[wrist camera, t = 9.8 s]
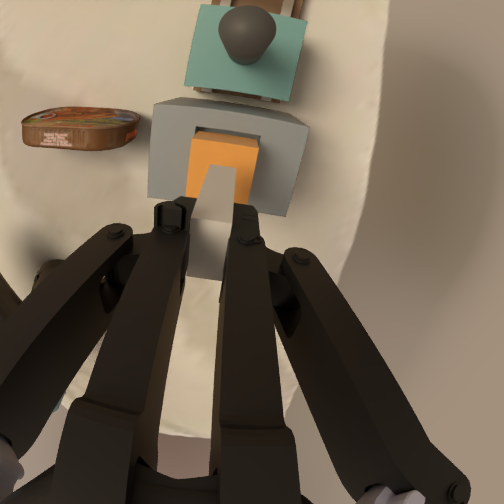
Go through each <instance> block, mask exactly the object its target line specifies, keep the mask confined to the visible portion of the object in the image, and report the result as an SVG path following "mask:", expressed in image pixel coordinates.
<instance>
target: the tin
mask: <svg viewBox="0 0 504 504" xmlns="http://www.w3.org/2000/svg"><path fill="white" fill-rule="evenodd" d="M139 119H140V116H139V115H138V114H137V113H135V112H132V111H128V110H122V109H111V108H94V107H60V108H53V109H48V110H44V111H40V112H37V113H34V114H31V115H29V116H27V117H26V118H24V119H23V120H22V121H21V124H22V139H23V142H24V144H26V145H28V146H32V147H45V148H58V149H71V150H82V151H102V150H110V149H115V148H119V147H122V146H124V145H126V144H127V143H129V142H131V141H132V140H133V139H134V138H135V137H136V134H137V127H138V121H139Z"/></svg>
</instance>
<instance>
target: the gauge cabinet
mask: <svg viewBox="0 0 504 504" xmlns="http://www.w3.org/2000/svg"><path fill="white" fill-rule="evenodd" d="M309 129H310V127H309V126H307V125H306V124H304V123H303V122H301V121H300V120H298V119H297V118H295V117H293V116H292V115H290V114H288V113H284V112H279V111H275V110H270V109H265V108H259V107H254V106H248V105H242V104H236V103H229V102H222V101H214V100H205V99H196V98H185V97H180V98H175V99H171V100H167V101H164V102H160V103H156V104H154V108H153V117H152V126H151V138H150V151H149V168H148V198H157V199H165V200H173V201H174V200H175V199H176V198H178V197H180V196H184V197H185V195H186V184H187V174H188V165H189V156H190V148H191V140H192V138H193V137H194V135H195V134H196V133H197V132H198V131H203V132H211V133H219V134H226V135H233V136H239V137H245V138H251V139H257V143H258V146H259V151H258V156H257V160H256V165H255V170H254V175H253V179H252V184H251V189H250V194H249V199H248V204H247V205H252V206H254V208H255V209H256V210H257V211H258V213H265V214H271V215H277V216H283V217H286V214H287V211H288V207H289V203H290V200H291V196H292V193H293V189H294V185H295V182H296V178H297V174H298V170H299V167H300V163H301V159H302V155H303V152H304V148H305V144H306V140H307V136H308V133H309Z"/></svg>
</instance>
